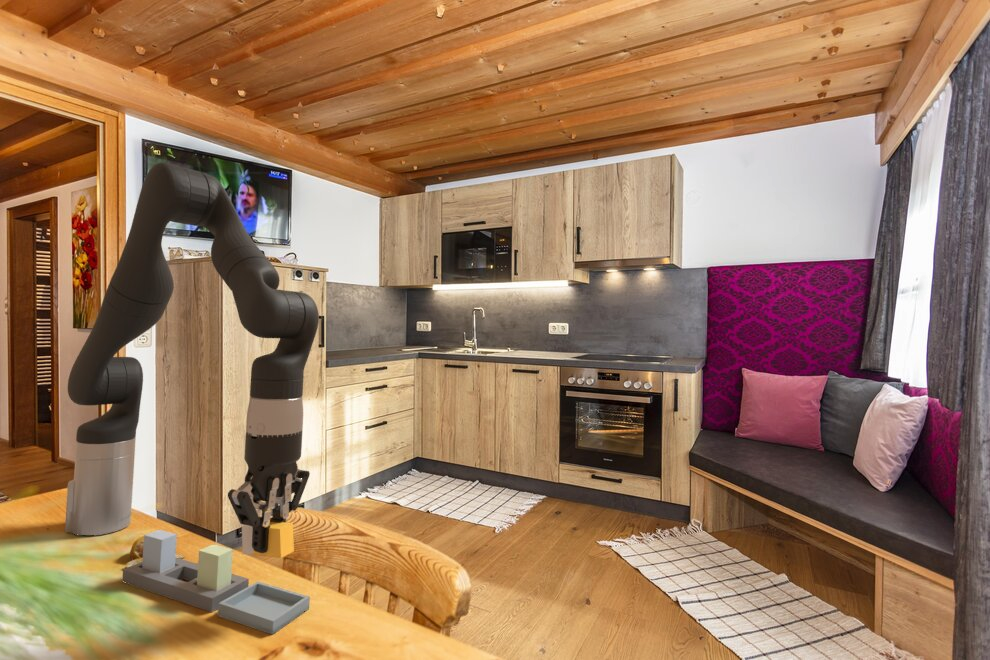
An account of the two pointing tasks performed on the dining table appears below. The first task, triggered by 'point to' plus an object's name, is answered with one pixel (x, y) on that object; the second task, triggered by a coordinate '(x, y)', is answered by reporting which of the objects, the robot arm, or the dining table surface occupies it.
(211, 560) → the block
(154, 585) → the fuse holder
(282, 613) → the tray
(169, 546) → the block
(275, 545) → the block
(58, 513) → the dining table surface
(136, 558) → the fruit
